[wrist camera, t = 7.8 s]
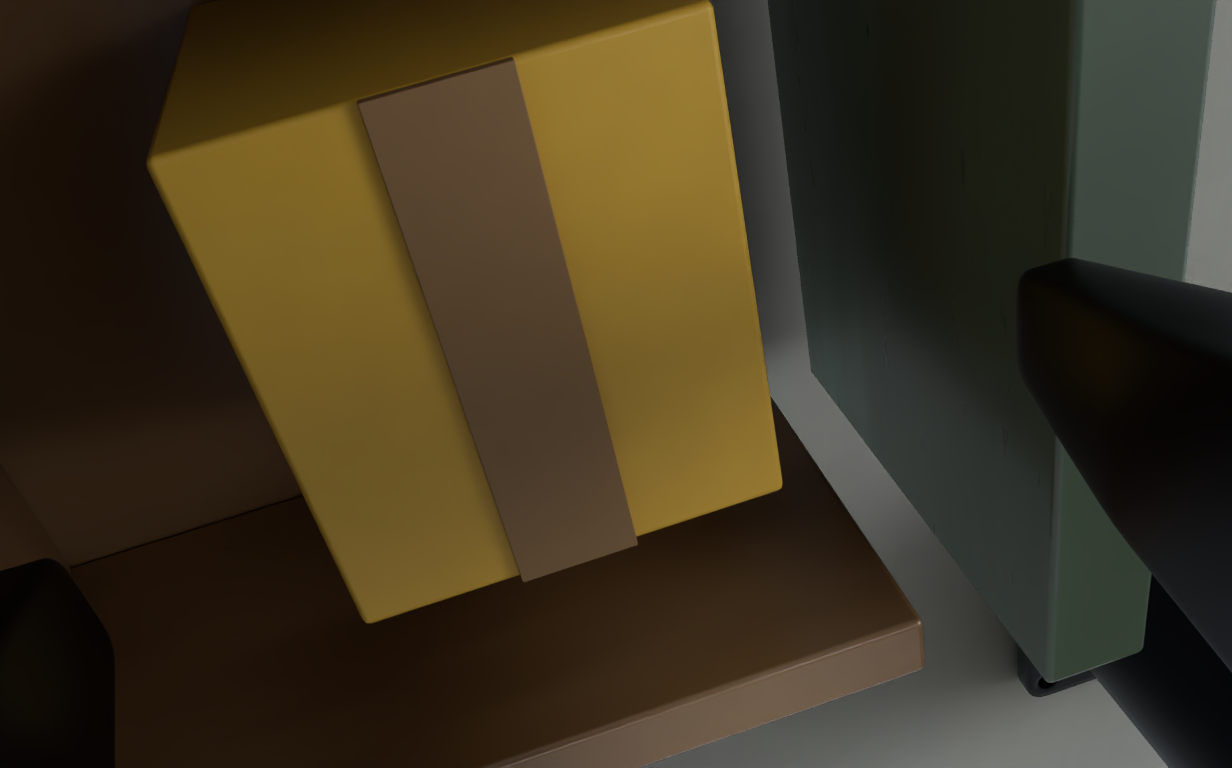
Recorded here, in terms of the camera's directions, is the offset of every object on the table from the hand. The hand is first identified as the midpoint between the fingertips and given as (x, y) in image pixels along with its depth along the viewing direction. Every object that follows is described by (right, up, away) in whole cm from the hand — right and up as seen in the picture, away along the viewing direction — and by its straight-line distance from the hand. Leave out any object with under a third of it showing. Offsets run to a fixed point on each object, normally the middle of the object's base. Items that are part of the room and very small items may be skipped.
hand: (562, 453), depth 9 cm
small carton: (-2, +3, +5) cm, 6 cm away
